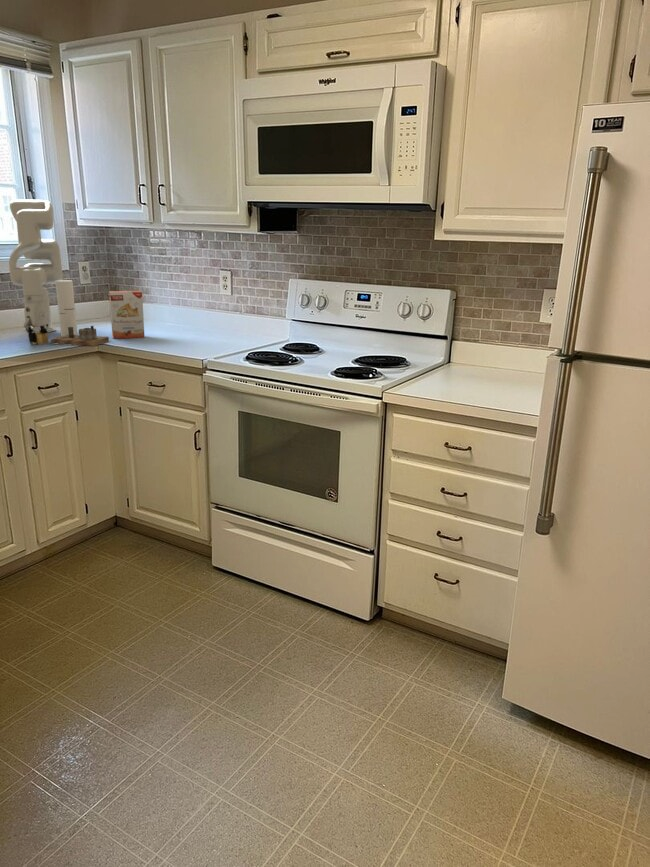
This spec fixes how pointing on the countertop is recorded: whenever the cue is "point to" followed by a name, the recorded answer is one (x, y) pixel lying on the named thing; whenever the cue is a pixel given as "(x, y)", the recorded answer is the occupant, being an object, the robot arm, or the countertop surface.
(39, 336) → the brass gear
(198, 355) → the countertop surface
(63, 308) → the cylindrical container
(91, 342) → the gear board
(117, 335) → the cracker box
